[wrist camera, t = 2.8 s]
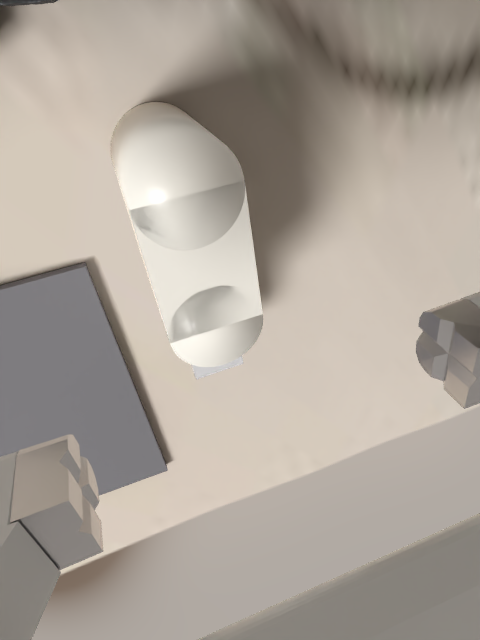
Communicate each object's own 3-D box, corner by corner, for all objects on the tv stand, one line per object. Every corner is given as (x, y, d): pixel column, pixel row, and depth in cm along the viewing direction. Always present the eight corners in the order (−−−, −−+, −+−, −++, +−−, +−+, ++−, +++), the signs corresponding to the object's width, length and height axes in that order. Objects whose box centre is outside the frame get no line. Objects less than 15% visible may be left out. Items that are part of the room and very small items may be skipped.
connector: (193, 92, 16) (235, 118, 12) (235, 321, 22) (272, 386, 19) (97, 113, 16) (109, 147, 12) (168, 342, 22) (192, 414, 18)
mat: (85, 262, 18) (85, 266, 18) (166, 465, 27) (167, 470, 26) (-246, 352, 16) (-252, 359, 16) (-45, 541, 25) (-46, 548, 24)
